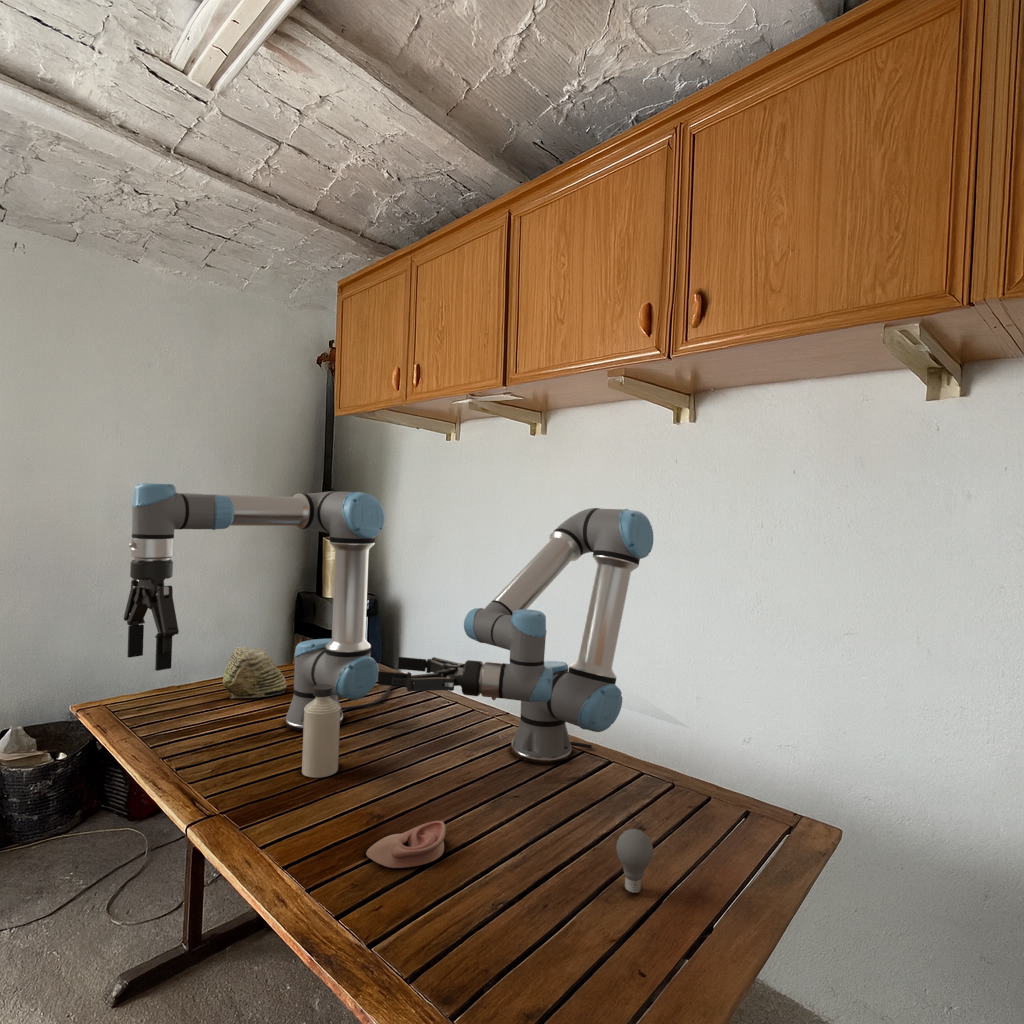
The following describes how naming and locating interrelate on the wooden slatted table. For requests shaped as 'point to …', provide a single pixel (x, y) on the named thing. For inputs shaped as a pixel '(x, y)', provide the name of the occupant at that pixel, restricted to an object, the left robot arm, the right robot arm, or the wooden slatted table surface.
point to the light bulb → (634, 857)
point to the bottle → (321, 737)
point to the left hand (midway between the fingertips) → (148, 662)
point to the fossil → (252, 674)
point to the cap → (323, 690)
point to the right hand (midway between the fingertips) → (388, 669)
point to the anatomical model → (410, 846)
